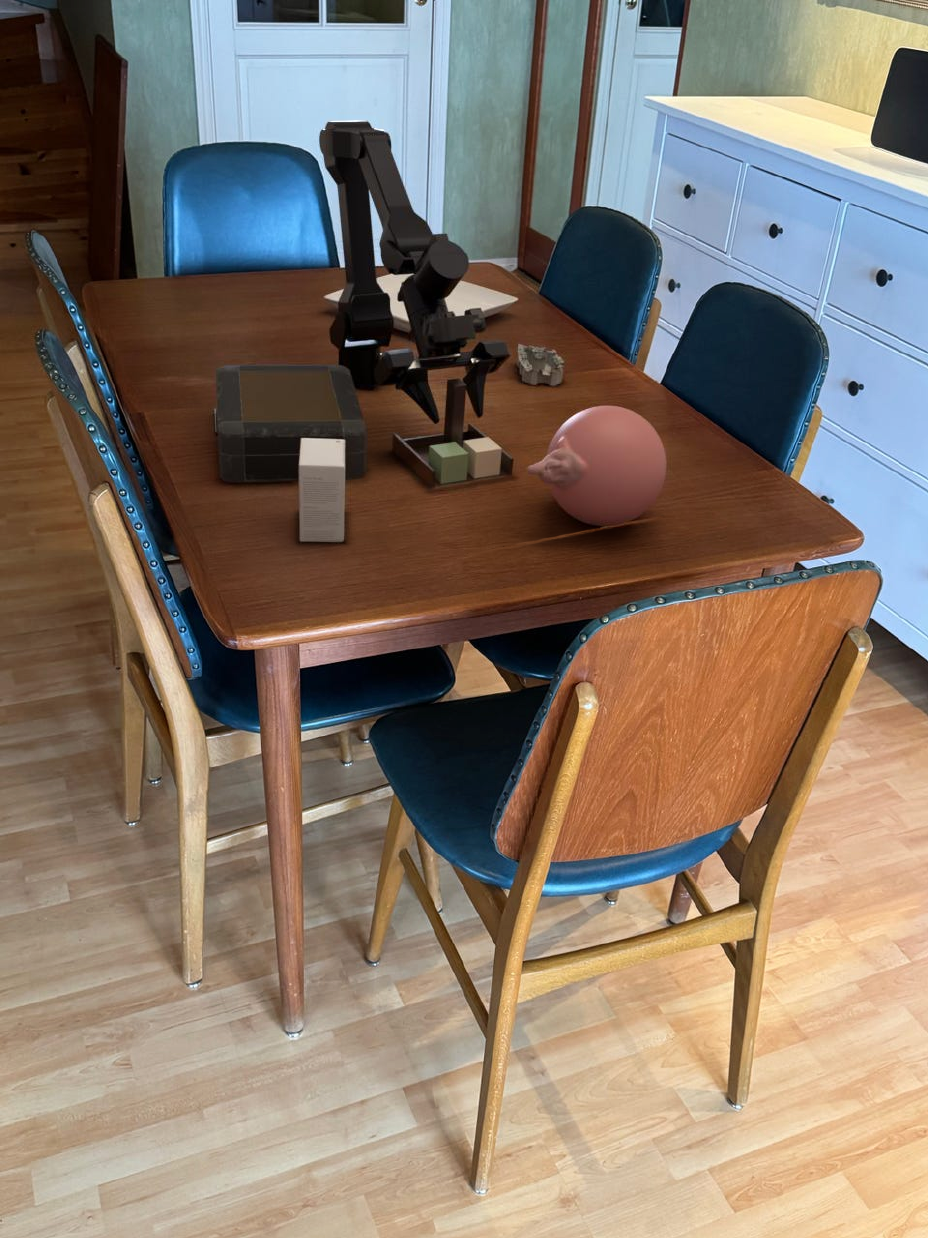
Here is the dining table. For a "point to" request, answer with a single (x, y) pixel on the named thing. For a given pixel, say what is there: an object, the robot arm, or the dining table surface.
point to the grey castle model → (539, 365)
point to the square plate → (457, 301)
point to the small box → (321, 490)
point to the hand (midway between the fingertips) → (459, 419)
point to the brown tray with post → (445, 440)
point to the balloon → (604, 466)
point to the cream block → (482, 457)
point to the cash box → (284, 419)
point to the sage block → (448, 462)
